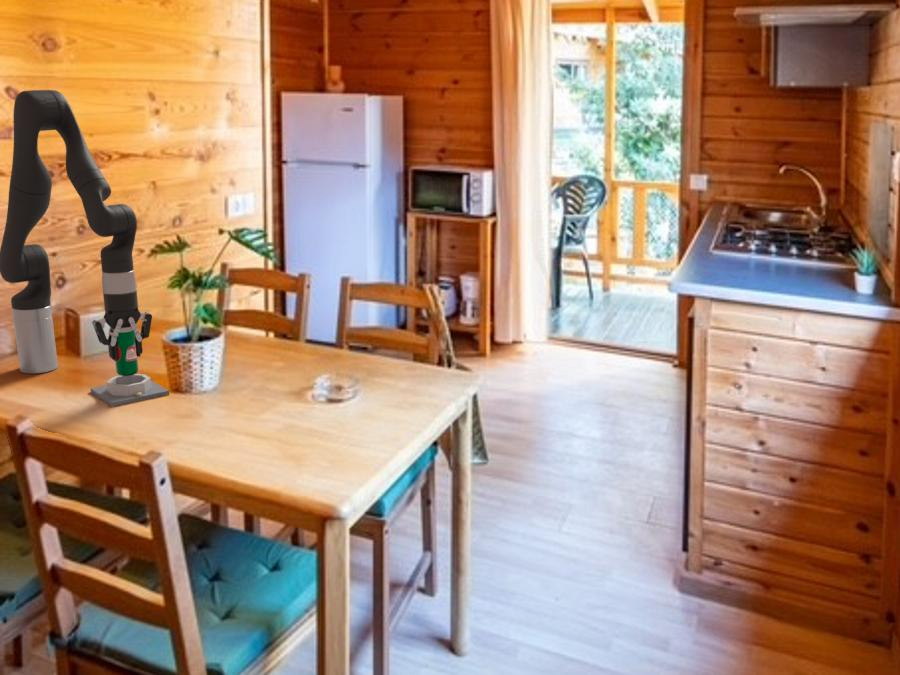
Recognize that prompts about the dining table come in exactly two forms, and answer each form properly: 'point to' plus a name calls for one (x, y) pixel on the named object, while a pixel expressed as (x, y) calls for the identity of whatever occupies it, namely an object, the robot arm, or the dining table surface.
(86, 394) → the dining table surface
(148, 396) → the grey can holder
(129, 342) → the soda can
